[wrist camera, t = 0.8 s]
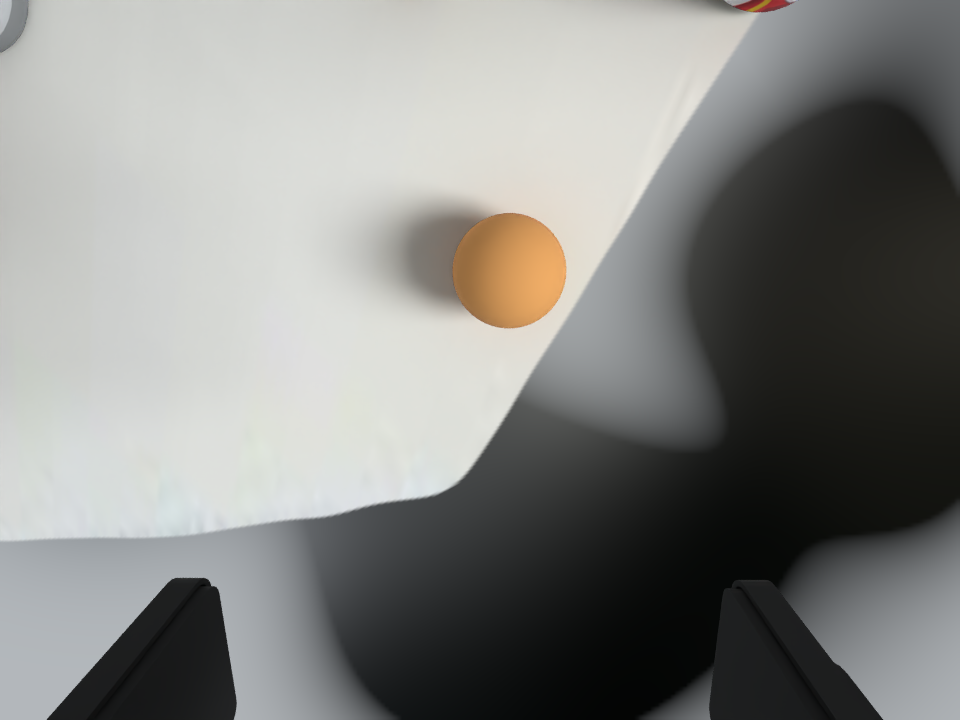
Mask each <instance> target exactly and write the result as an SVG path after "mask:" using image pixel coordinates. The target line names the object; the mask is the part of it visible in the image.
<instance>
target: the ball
mask: <svg viewBox="0 0 960 720" xmlns="http://www.w3.org/2000/svg"><path fill="white" fill-rule="evenodd" d="M565 279H566V261H565V256H564V253H563V250H562V247H561V245H560V243H559V242H558V240H557V238H556V237H555V236H554V234H553V233H552V232H551V231H550V230H549V229H548V228H547V227H546V226H545V225H544V224H542V223H541V222H539V221H537V220H536V219H534V218H531V217H529V216H526V215H522V214H516V213H504V214H497V215H494V216H491V217H488V218H486V219H484V220H482V221H480V222H479V223H477V224H476V225H475V226H473V227H472V228H471V229H470V230H469V231H468V232H467V233H466V234H465V236H464V237H463V239H462V240H461V242H460V244H459V245H458V248H457V250H456V253H455V256H454V261H453V282H454V286H455V290H456V293H457V295H458V297H459V299H460V301H461V302H462V304H463V305H464V306H465V308H466V309H467V310H468V311H469V312H470V313H471V314H472V315H473V316H475V317H476V318H477V319H479V320H481V321H482V322H484V323H486V324H489V325H491V326H495V327H500V328H518V327H523V326H526V325H529V324H531V323H534V322H536V321H537V320H539V319H541V318H542V317H543V316H545V315H546V314H547V313H548V312H549V311H550V310H551V309H552V308H553V306H554V305H555V304H556V302H557V301H558V299H559V298H560V295H561V293H562V291H563V288H564V284H565Z"/></svg>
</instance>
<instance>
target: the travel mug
mask: <svg viewBox="0 0 960 720" xmlns="http://www.w3.org/2000/svg"><path fill="white" fill-rule="evenodd" d="M27 15H28V0H0V52H2V51H5V50H6V49H7V48H9V47H10V46H11V45H13V44H14V43H15V42H16V40H17V39H18V38H19V37H20V35H21V33H22V31H23V29H24V27H25V23H26V19H27Z"/></svg>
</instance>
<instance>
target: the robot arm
mask: <svg viewBox="0 0 960 720" xmlns="http://www.w3.org/2000/svg"><path fill="white" fill-rule="evenodd" d="M236 704H237V702H236V694H235V688H234V682H233V675H232V670H231V663H230V657H229V651H228V645H227V638H226V632H225V626H224V620H223V614H222V607H221V601H220V595H219V591H218V589H217V587H214V586H211V584H210V582H209V580H208V579H206V578H175V579H172V580H171V581H170V582H168V583H167V585H166V586H165V587H164V588H163V589H162V590H161V591H160V592H159V593H158V595H157V596H156V597H155V598H154V599H153V600H152V601H151V602H150V604H149V605H148V606H147V607H146V608H145V609H144V611H143V612H142V613H141V614H140V615H139V616H138V617H137V618H136V619H135V621H134V622H133V623H132V624H131V625H130V626H129V627H128V628H127V630H126V631H125V632H124V633H123V634H122V635H121V636H120V637H119V639H118V640H117V641H116V642H115V643H114V644H113V645H112V646H111V648H110V649H109V650H108V651H107V652H106V653H105V654H104V656H103V657H102V658H101V659H100V660H99V661H98V662H97V663H96V664H95V666H94V667H93V668H92V669H91V670H90V671H89V672H88V674H87V675H86V676H85V677H84V678H83V679H82V680H81V681H80V683H79V684H78V685H77V686H76V687H75V688H74V689H73V690H72V692H71V693H70V694H69V695H68V696H67V697H66V698H65V699H64V701H63V702H62V703H61V704H60V705H59V706H58V707H57V709H56V710H55V711H54V712H53V713H52V714H51V715H50V716H49V718H48V719H47V720H234V716H235V712H236ZM709 711H710V718H711V720H883V719H882V718H881V716H880V715H879V714H878V712H877V711H876V710H875V709H874V708H873V706H872V705H871V703H870V702H869V701H868V700H867V698H866V697H865V696H864V694H863V693H862V692H861V691H860V689H859V688H858V687H857V686H856V684H855V683H854V682H853V680H852V679H851V678H850V677H849V675H848V674H847V673H846V672H845V671H844V670H843V669H842V668H841V667H840V666H839V665H837V664H835V663H834V662H833V661H832V660H831V658H830V657H829V656H828V654H827V653H826V652H825V650H824V649H823V648H822V647H821V645H820V644H819V643H818V642H817V640H816V639H815V637H814V636H813V635H812V634H811V632H810V631H809V630H808V628H807V627H806V626H805V624H804V623H803V622H802V621H801V619H800V618H799V617H798V615H797V614H796V613H795V611H794V610H793V609H792V608H791V606H790V605H789V604H788V602H787V601H786V600H785V598H784V597H783V596H782V595H781V593H780V592H779V591H778V589H777V588H776V587H775V586H774V584H773V583H772V582H770V581H767V580H737V581H735V582H734V583H733V585H732V589H725V590H724V593H723V598H722V606H721V614H720V622H719V630H718V639H717V647H716V655H715V663H714V671H713V679H712V687H711V695H710V704H709Z"/></svg>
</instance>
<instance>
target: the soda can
mask: <svg viewBox="0 0 960 720" xmlns="http://www.w3.org/2000/svg"><path fill="white" fill-rule="evenodd" d="M724 1H725V2H727V3H728V4H730V5H732V6H733V7H736V8H738V9H741V10H744V11H750V12H768V11H774V10H777V9H780V8H783V7H786V6H788V5H790V4H792V3H794V2H796V1H798V0H724Z"/></svg>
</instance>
